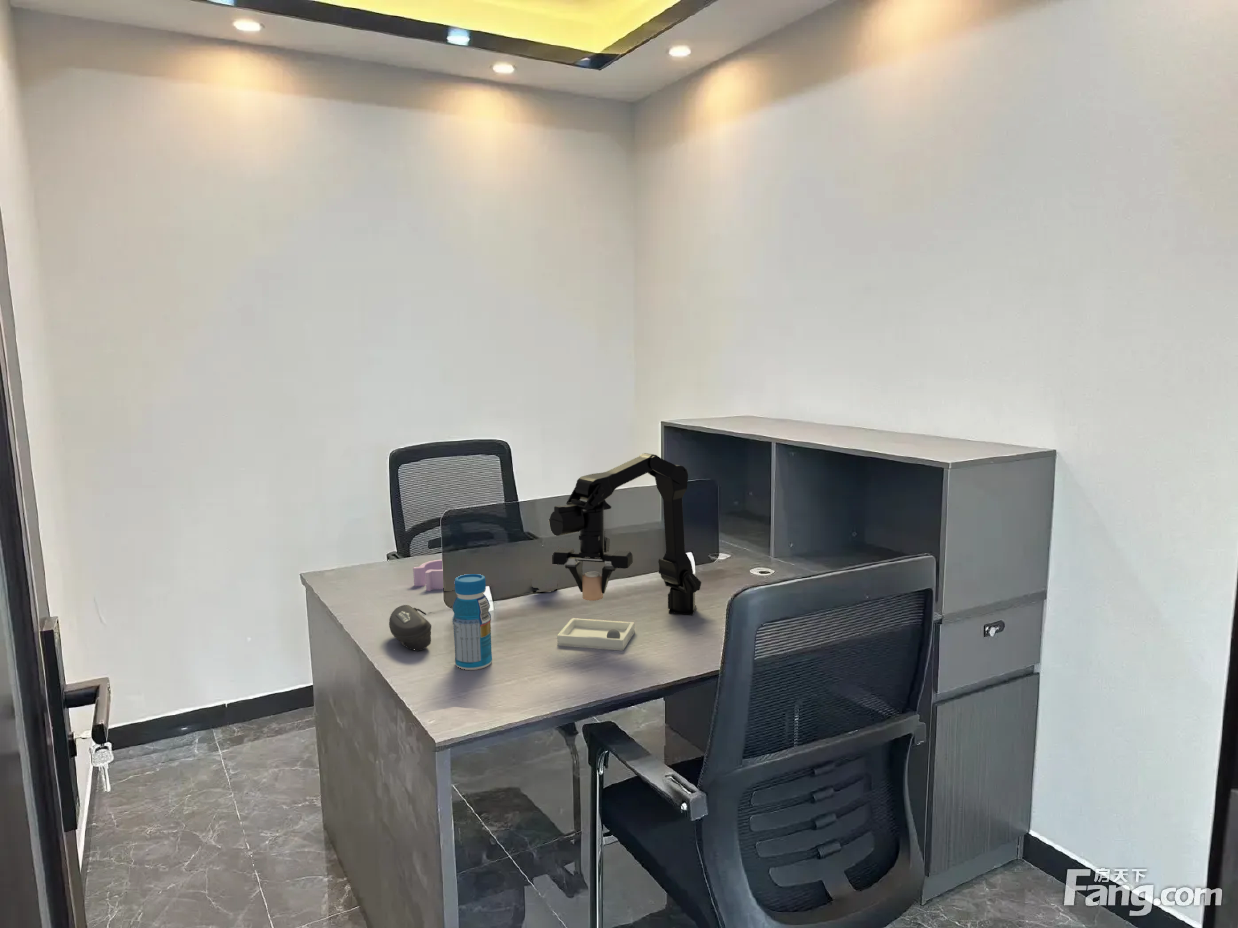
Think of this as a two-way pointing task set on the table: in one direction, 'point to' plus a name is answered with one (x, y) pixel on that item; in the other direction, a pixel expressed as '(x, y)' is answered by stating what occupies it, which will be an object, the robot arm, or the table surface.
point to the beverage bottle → (471, 623)
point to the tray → (595, 634)
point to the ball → (613, 634)
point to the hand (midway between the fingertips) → (592, 592)
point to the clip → (429, 575)
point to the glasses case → (410, 627)
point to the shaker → (592, 586)
